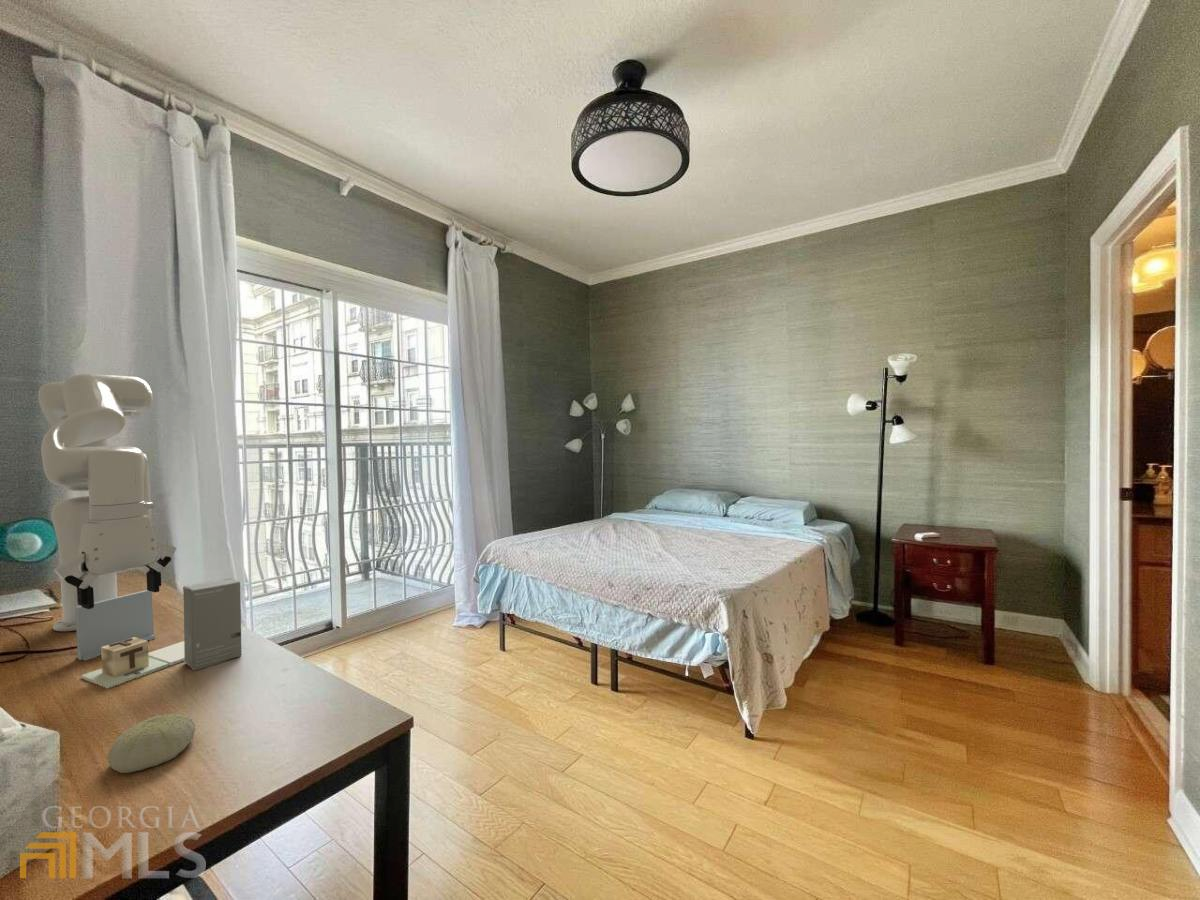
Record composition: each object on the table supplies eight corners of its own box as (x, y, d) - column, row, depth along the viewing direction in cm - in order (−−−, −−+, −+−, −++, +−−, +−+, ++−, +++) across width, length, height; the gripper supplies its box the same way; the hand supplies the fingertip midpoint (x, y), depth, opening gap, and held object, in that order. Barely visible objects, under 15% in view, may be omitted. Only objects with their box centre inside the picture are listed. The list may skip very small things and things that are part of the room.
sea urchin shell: (215, 718, 74) (183, 702, 68) (187, 779, 68) (149, 768, 62) (155, 720, 73) (117, 705, 68) (121, 781, 68) (77, 771, 62)
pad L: (145, 656, 99) (145, 653, 99) (196, 639, 108) (196, 636, 108) (171, 665, 95) (171, 661, 95) (222, 646, 103) (222, 643, 103)
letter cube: (102, 672, 91) (100, 646, 91) (135, 661, 96) (134, 635, 96) (115, 677, 89) (114, 650, 89) (149, 666, 94) (148, 640, 94)
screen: (75, 658, 99) (72, 606, 99) (148, 635, 110) (146, 588, 110) (83, 661, 98) (80, 608, 97) (156, 638, 109) (154, 590, 108)
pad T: (81, 678, 91) (81, 674, 91) (142, 657, 99) (142, 654, 99) (107, 688, 87) (107, 684, 87) (168, 666, 95) (168, 662, 95)
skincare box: (192, 672, 92) (189, 591, 92) (183, 662, 97) (179, 585, 96) (245, 655, 99) (242, 580, 99) (233, 647, 103) (230, 575, 103)
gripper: (163, 504, 101) (166, 583, 102) (43, 518, 85) (48, 611, 86) (182, 506, 98) (186, 588, 99) (62, 521, 82) (67, 618, 83)
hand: (122, 599), depth 93 cm, fingers open, 9 cm apart
